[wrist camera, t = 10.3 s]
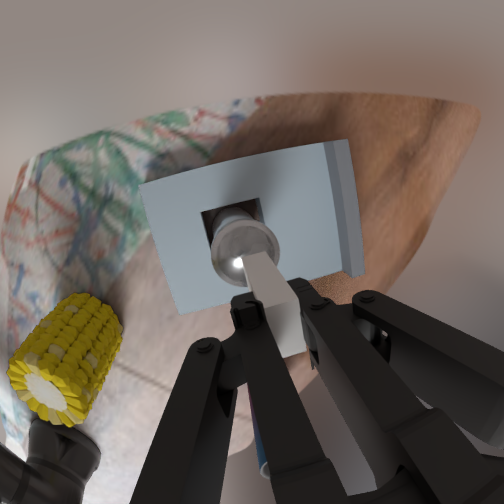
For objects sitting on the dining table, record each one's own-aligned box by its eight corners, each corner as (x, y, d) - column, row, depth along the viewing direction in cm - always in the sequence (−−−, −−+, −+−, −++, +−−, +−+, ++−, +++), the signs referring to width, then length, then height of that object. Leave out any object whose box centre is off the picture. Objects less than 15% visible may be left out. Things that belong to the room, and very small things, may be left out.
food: (138, 333, 35) (80, 347, 35) (92, 261, 29) (33, 283, 28) (127, 439, 22) (58, 440, 22) (45, 371, 16) (-16, 378, 15)
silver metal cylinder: (215, 255, 32) (221, 294, 22) (203, 210, 30) (202, 230, 21) (261, 243, 32) (285, 277, 23) (251, 198, 31) (272, 212, 21)
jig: (181, 302, 33) (178, 326, 28) (144, 183, 28) (132, 187, 23) (343, 258, 35) (365, 273, 29) (325, 142, 30) (347, 138, 25)
